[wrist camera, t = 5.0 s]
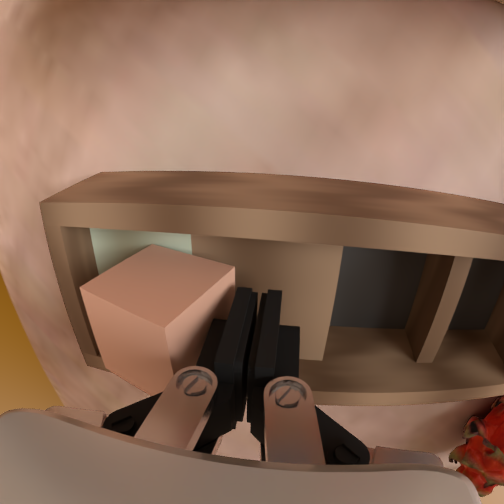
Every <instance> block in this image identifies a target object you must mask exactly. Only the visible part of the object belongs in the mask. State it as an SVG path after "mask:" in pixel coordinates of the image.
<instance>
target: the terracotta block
mask: <svg viewBox="0 0 504 504" xmlns="http://www.w3.org/2000/svg"><path fill="white" fill-rule="evenodd" d="M80 291H81V294H82V298H83V301H84V305H85V308H86V312H87V315H88V318H89V321H90V325H91V328H92V331H93V334H94V337H95V340H96V343H97V346H98V348H99V351H100V354H101V357H102V359H103V362H104V365H105V368H106V369H108V370H110V371H111V372H113V373H114V374H116V375H117V376H119V377H121V378H122V379H124V380H125V381H127V382H129V383H130V384H132V385H134V386H135V387H137V388H139V389H140V390H142V391H144V392H146V393H147V394H149V395H151V396H153V395H156V394H158V393H161V392H163V391H164V389H165V388H166V386H167V385H168V383H169V382H170V380H171V379H172V377H173V376H174V375H175V374H176V372H178V371H179V370H181V369H183V368H186V367H189V366H196V363H197V361H198V358H199V355H200V353H201V350H202V347H203V344H204V342H205V339H206V336H207V334H208V331H209V328H210V326H211V323H212V321H213V319H223V320H227V319H228V316H229V312H230V309H231V306H232V303H233V300H234V297H235V266H231V265H227V264H224V263H220V262H216V261H213V260H209V259H205V258H202V257H198V256H194V255H190V254H187V253H183V252H180V251H176V250H172V249H169V248H165V247H161V246H158V245H154V244H151V245H150V246H148V247H146V248H144V249H143V250H141V251H139V252H138V253H136V254H134V255H132V256H131V257H129V258H127V259H126V260H124V261H122V262H120V263H119V264H117V265H115V266H114V267H112V268H110V269H109V270H107V271H105V272H104V273H102V274H100V275H99V276H97V277H95V278H94V279H92V280H90V281H89V282H87V283H85V284H84V285H82V286H81V287H80Z"/></svg>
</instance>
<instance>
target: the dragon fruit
mask: <svg viewBox="0 0 504 504" xmlns="http://www.w3.org/2000/svg"><path fill="white" fill-rule="evenodd" d="M493 406H494V407H493ZM492 408H493V409H492ZM491 409H492V411H491V412H490V413H489V414H488V415H487V416H486V417H485V418H484V419H481V418H478V417H476V416H472V417H471V418H470V419H469V421H468V422H467V424H466V425H465V427H464V428H463V429H464V435H463V438H466V444H463V445H461V446H458V447H456V448H455V449H454V450H453V451H452V452H451V453H450V455H449V462H453V460H454V461H455V463H456V464H457V461H458V462H459V463H460V464H461V466H460V467H459V468H457V470H456V471H457V472H459V473H462V474H463V475H465V476H466V477H468V478H469V479H470V481H471V482H472V483H473V485H474V486H475V488H476V490H477V492H478V495H479V496H480V497H483V496H486V495H489V494H490V493H491V492H492V490H493V488H494V487H495V486H498V485H503V486H504V397H503V396H502V398H501V397H499V398H497V399H496V401H495V402H494V403H493V404H492V406H491ZM491 409H490V410H491Z"/></svg>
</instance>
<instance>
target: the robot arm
mask: <svg viewBox="0 0 504 504" xmlns="http://www.w3.org/2000/svg"><path fill="white" fill-rule="evenodd" d="M281 302H282V290H271V289H268V292H267V293H262V295H261V300H260V305H259V310H258V315H257V304H258V292H253V289H252V288H247V287H237V290H236V293H235V297H234V300H233V303H232V306H231V309H230V312H229V316H228V319H227V320H223V319H213V321H212V323H211V326H210V328H209V331H208V334H207V336H206V339H205V342H204V344H203V347H202V350H201V353H200V355H199V358H198V361H197V363H196V366H189V367H186V368H183V369H181V370H179V371H178V372H176V374H175V375H174V376H173V377H172V379H171V380H170V382H169V383H168V385H167V386H166V388H165V389H164V391H163V392H161V393H158V394H156V395H153V396H151V397H149V398H146V399H144V400H141V401H139V402H137V403H134V404H132V405H129V406H127V407H124V408H121V409H119V410H116V411H115V412H113V413H111V414H110V415H108V414H105V412H104V411H95V410H86V409H77V408H69V407H62V406H53V407H50V408H48V409H46V410H39V409H14V410H9V411H6V412H4V413H3V414H1V415H0V504H482V503H481V500H480V498H479V495H478V492H477V490H476V488H475V486H474V485H473V483H472V482H471V481H470V479H469V478H468V477H466V476H465V475H463V474H462V473H459V472H457V471H454V470H452V469H448V468H444V467H443V463H442V461H441V460H440V458H439V457H437V456H436V455H435V454H431V453H427V452H417V451H408V450H400V449H392V448H385V447H379V446H376V448H375V449H373V448H367V447H366V446H365V445H364V444H363V443H362V442H361V441H360V440H359V439H357V438H356V437H355V436H353V435H352V434H351V433H349V432H348V431H347V430H346V429H344V428H343V427H342V426H340V425H339V424H338V423H337V422H335V421H334V420H333V419H331V418H330V417H329V416H328V415H326V414H325V413H324V412H323V411H321V410H320V409H319V408H318V407H317V406H315V405H314V400H313V395H312V391H311V389H310V387H309V386H308V384H307V383H306V382H304V381H303V380H301V379H299V354H300V326H288V325H280V314H281ZM246 401H247V422H249V423H251V433H252V435H253V436H254V437H255V438H256V439H257V440H258V441H259V442H260V461H256V460H247V459H239V458H232V457H225V456H218V455H216V452H217V450H218V448H219V446H220V443H221V441H222V437H223V435H224V434H226V433H227V432H229V431H231V430H232V429H235V428H236V423H237V421H240V422H242V421H243V416H244V411H245V406H246Z"/></svg>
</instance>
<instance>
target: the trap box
mask: <svg viewBox="0 0 504 504" xmlns="http://www.w3.org/2000/svg"><path fill="white" fill-rule="evenodd" d="M39 204H40V209H41V214H42V219H43V224H44V229H45V234H46V238H47V242H48V247H49V251H50V255H51V259H52V263H53V266H54V270H55V274H56V277H57V281H58V284H59V288H60V291H61V294H62V297H63V301H64V304H65V307H66V310H67V313H68V316H69V319H70V322H71V324H72V327H73V330H74V333H75V336H76V338H77V341H78V344H79V346H80V349H81V351H82V354H83V356H84V359H85V361H86V364H87V366H91V367H94V368H98V369H101V370H105V371H108V372H111V371H110V370H108V369H106V368H105V365H104V362H103V359H102V357H101V354H100V351H99V348H98V346H97V343H96V340H95V337H94V334H93V331H92V328H91V325H90V321H89V318H88V315H87V312H86V308H85V305H84V301H83V298H82V294H81V291H80V287H81V286H82V285H84V284H85V283H87V282H89V281H90V280H92V279H94V278H95V277H97V276H99V275H100V274H102V273H104V272H105V271H107V270H109V269H110V268H112V267H114V266H115V265H117V264H119V263H120V262H122V261H124V260H126V259H127V258H129V257H131V256H132V255H134V254H136V253H138V252H139V251H141V250H143V249H144V248H146V247H148V246H150V245H151V244H154V245H158V246H161V247H165V248H169V249H172V250H176V251H180V252H183V253H187V254H190V255H194V256H198V257H202V258H205V259H209V260H213V261H216V262H220V263H224V264H227V265H231V266H235V293H236V290H237V287H247V288H252V289H253V292H258V304H257V315H258V310H259V305H260V300H261V295H262V293H267V292H268V289H271V290H282V302H281V314H280V325H288V326H300V354H299V379H301V380H303V381H304V382H306V383H307V384H308V386H309V387H310V389H311V391H312V395H313V400H314V404H315V405H340V406H393V405H417V404H432V403H444V402H455V401H464V400H472V399H480V398H487V397H494V396H500V395H504V204H501V203H496V202H491V201H486V200H481V199H476V198H470V197H465V196H459V195H453V194H447V193H441V192H435V191H428V190H421V189H414V188H407V187H400V186H392V185H384V184H376V183H367V182H358V181H349V180H339V179H328V178H316V177H304V176H290V175H275V174H257V173H235V172H201V171H129V172H101V173H99V174H96V175H94V176H92V177H90V178H88V179H85V180H83V181H81V182H79V183H77V184H75V185H73V186H71V187H69V188H67V189H65V190H63V191H61V192H59V193H57V194H55V195H53V196H51V197H49V198H47V199H45V200H43V201H41V202H39ZM112 373H113V372H112Z"/></svg>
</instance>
